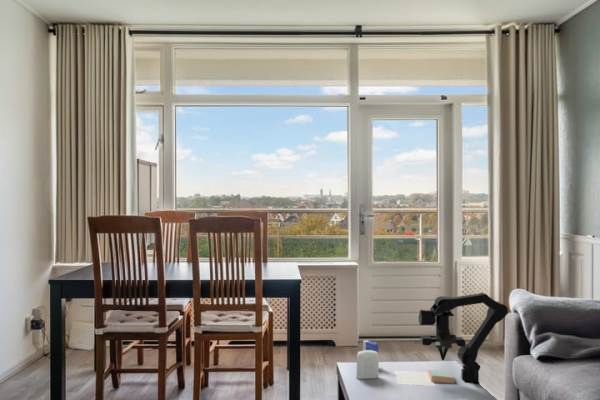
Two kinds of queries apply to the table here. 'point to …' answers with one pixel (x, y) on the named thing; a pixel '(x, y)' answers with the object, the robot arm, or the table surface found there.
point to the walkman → (370, 346)
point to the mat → (413, 378)
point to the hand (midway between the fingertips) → (442, 360)
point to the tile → (441, 376)
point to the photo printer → (367, 364)
